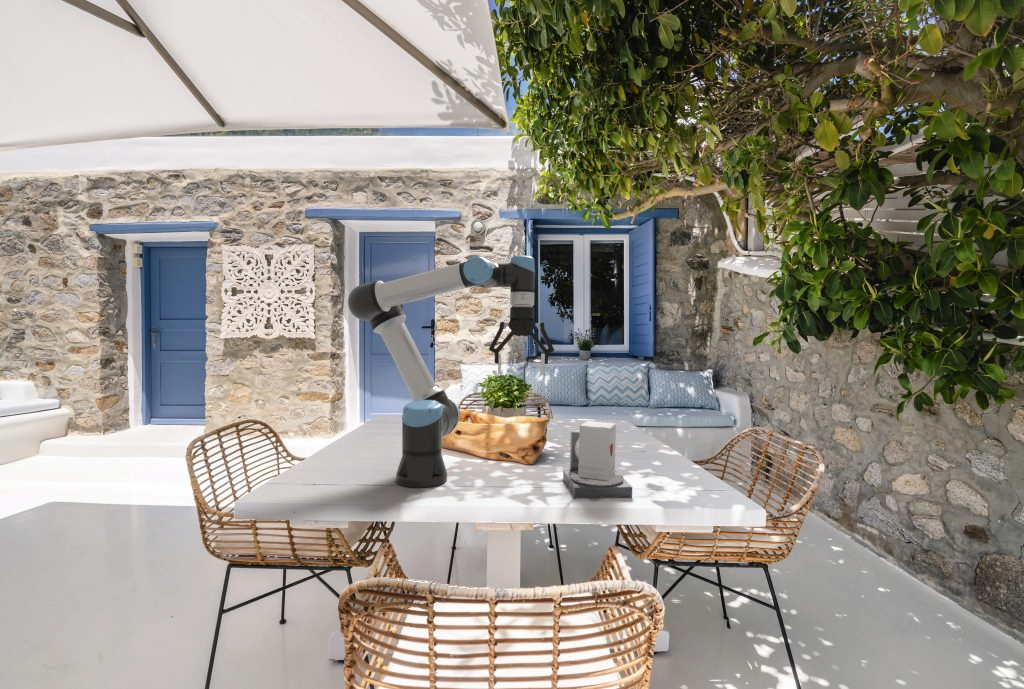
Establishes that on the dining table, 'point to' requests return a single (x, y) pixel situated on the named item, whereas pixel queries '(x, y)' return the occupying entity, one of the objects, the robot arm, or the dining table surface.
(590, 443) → the supplement box
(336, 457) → the dining table surface
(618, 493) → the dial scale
